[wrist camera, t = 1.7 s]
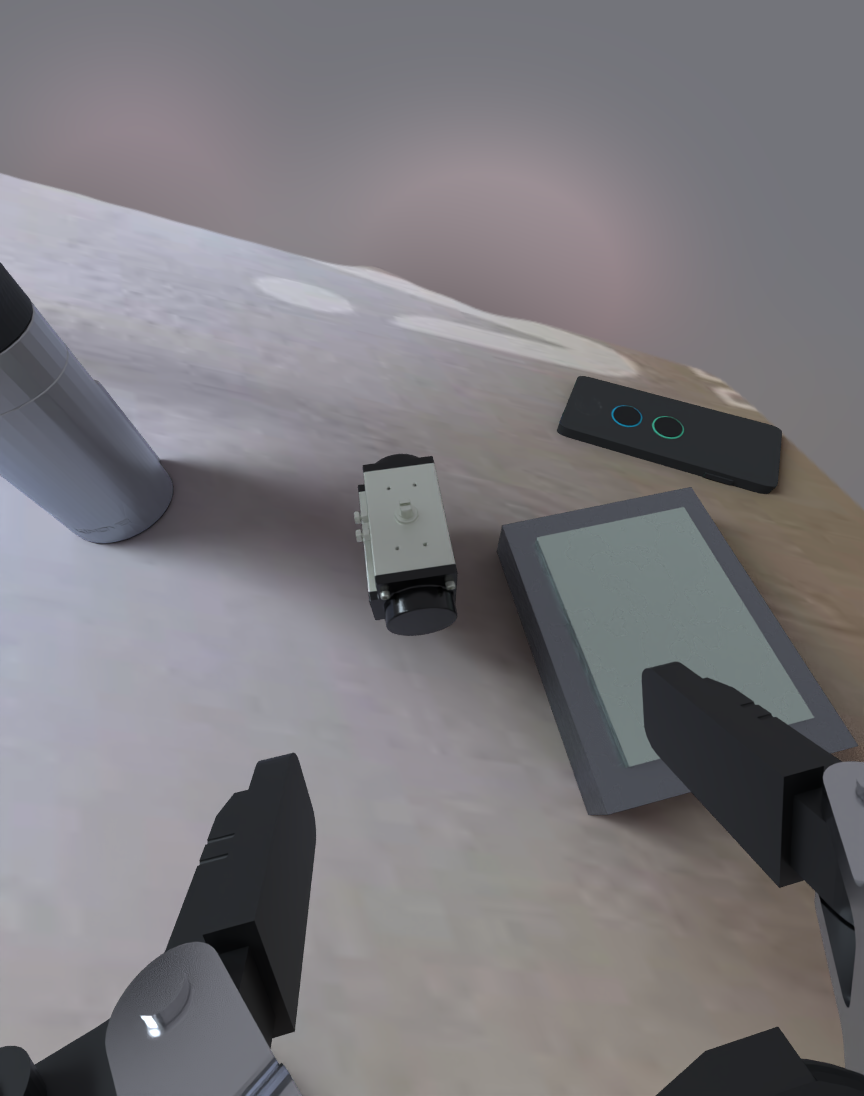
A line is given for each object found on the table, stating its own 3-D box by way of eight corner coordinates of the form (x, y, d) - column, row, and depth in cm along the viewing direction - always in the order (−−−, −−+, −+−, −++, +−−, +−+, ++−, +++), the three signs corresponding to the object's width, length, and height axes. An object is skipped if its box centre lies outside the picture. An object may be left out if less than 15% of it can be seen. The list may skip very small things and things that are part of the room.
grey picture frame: (496, 550, 39) (503, 521, 35) (669, 514, 41) (694, 482, 37) (588, 814, 29) (611, 814, 25) (811, 753, 31) (866, 744, 27)
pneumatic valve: (431, 527, 41) (429, 428, 30) (456, 655, 35) (463, 586, 24) (369, 535, 40) (345, 438, 30) (383, 667, 34) (359, 602, 24)
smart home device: (579, 372, 49) (783, 425, 44) (575, 385, 50) (772, 438, 46) (557, 425, 45) (778, 489, 41) (553, 437, 46) (766, 500, 42)
